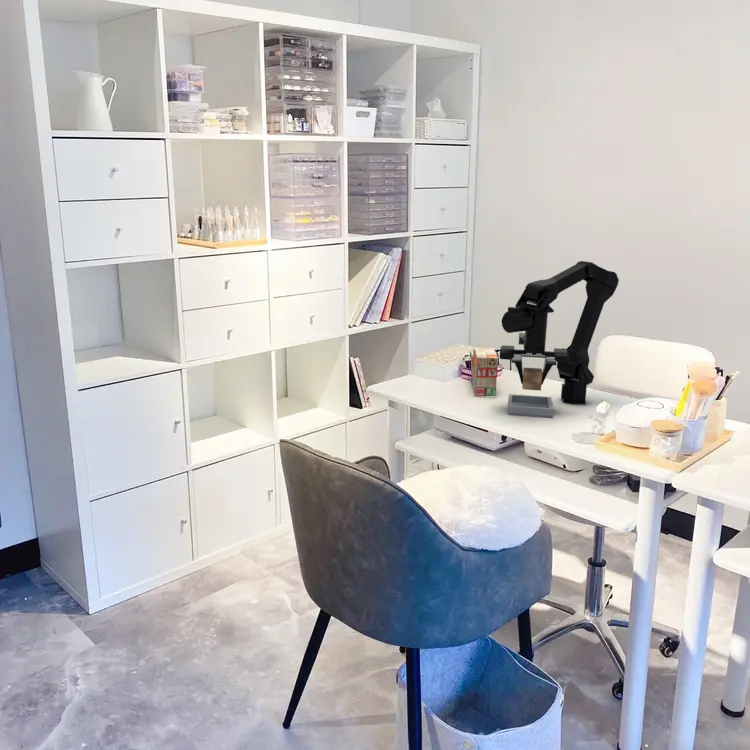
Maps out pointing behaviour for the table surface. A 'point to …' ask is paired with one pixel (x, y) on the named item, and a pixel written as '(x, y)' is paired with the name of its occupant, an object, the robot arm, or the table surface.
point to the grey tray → (530, 406)
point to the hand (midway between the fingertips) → (531, 384)
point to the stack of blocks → (484, 371)
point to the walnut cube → (532, 379)
